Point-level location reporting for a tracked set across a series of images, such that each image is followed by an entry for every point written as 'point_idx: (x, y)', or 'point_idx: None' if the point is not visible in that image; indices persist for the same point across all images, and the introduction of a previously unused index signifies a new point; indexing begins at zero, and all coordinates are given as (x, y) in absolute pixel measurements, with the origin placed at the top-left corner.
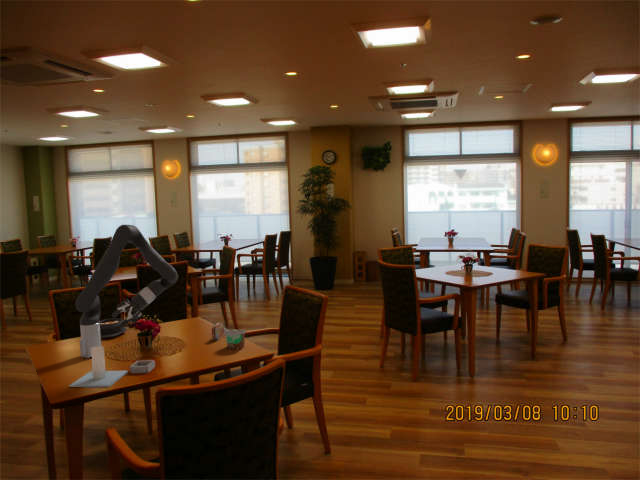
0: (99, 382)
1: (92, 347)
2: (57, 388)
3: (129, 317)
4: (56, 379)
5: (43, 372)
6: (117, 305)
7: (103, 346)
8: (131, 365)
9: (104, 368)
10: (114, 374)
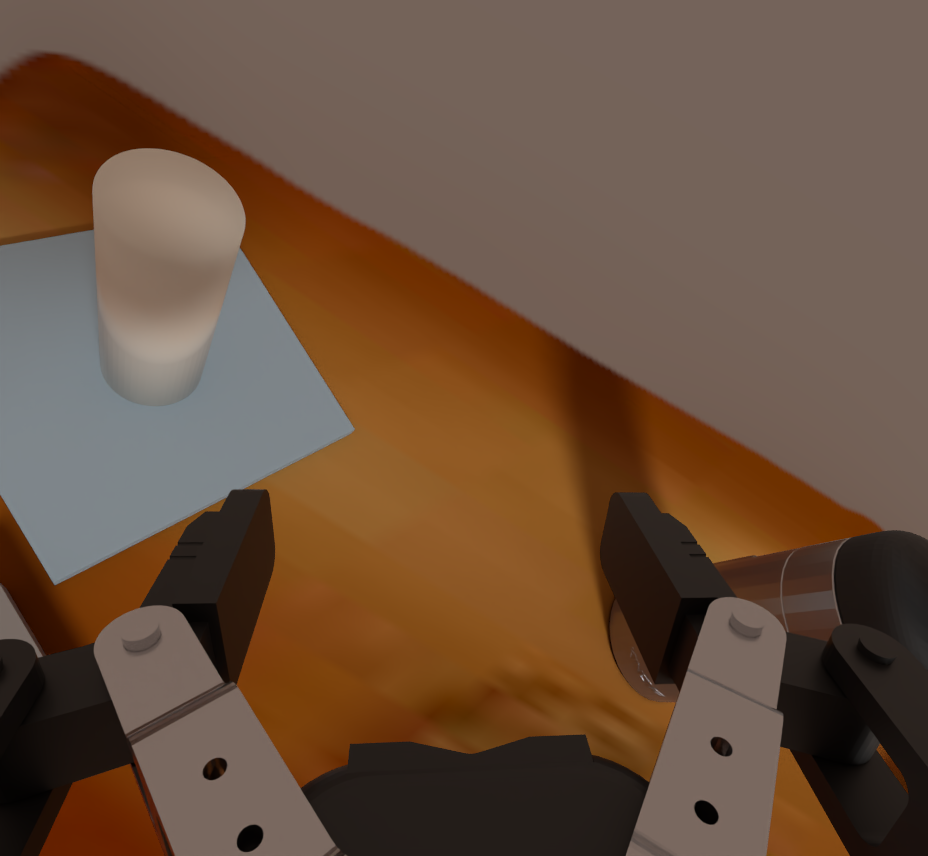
0: (42, 295)
1: (226, 192)
2: (271, 199)
3: (115, 688)
4: (417, 295)
5: (565, 345)
6: (886, 648)
7: (134, 245)
8: (9, 610)
9: (106, 347)
10: (91, 460)
